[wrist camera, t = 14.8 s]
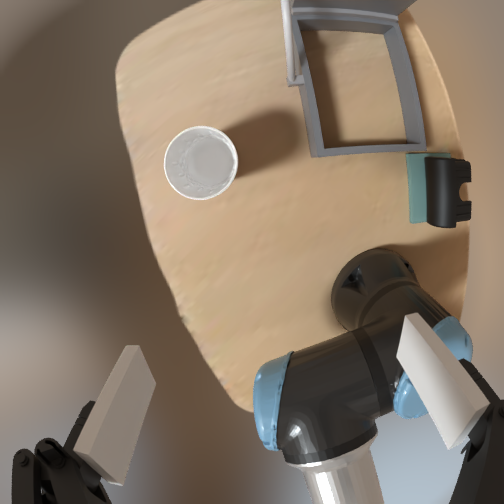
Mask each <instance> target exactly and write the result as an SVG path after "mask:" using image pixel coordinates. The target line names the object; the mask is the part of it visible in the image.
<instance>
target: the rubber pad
mask: <svg viewBox="0 0 504 504" xmlns="http://www.w3.org/2000/svg"><path fill="white" fill-rule="evenodd" d="M428 156H434V157H446V158H451V156H450V153H416V154H406V161H407V172H408V186H409V209H410V223H412V224H414V223H421V222H427V220H426V178H425V163H424V158H425V157H428Z"/></svg>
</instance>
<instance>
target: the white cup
mask: <svg viewBox="0 0 504 504" xmlns="http://www.w3.org/2000/svg"><path fill="white" fill-rule="evenodd" d="M237 169H238V155H237V151H236V148H235V146H234V144H233V142H232V141H231V140H230V138H229V137H228V136H227V135H226V134H224V133H223V132H222V131H220V130H218V129H216V128H213V127H209V126H195V127H191V128H188V129H186V130H184V131H182V132H181V133H179V134H178V135H177V136H176V137H175V138H174V139H173V140H172V141H171V143H170V144H169V146H168V148H167V150H166V153H165V158H164V170H165V174H166V177H167V180H168V181H169V183H170V185H171V186H172V187H173V188H174V189H175V190H176V191H177V192H178V193H179V194H181V195H183V196H185V197H187V198H190V199H195V200H205V199H210V198H213V197H216V196H218V195H219V194H221V193H222V192H224V191H225V190H226V189H227V188H228V187H229V186H230V184H231V183H232V182H233V180H234V178H235V175H236V173H237Z"/></svg>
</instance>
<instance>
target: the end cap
mask: <svg viewBox="0 0 504 504" xmlns="http://www.w3.org/2000/svg"><path fill="white" fill-rule="evenodd" d="M424 163H425V178H426V220H427V223H429V224H430V225H433V226H436V227H441V228H455V227H456V222H461V221H467V220H470V219H471V201H462V200H461V199H460V196H459V189H460V186H461V185H462V184H463V183H465V182H471V165H470V163H469V162H468V161H465V160H464V159H454V158H446V157H434V156H428V157H425V158H424Z"/></svg>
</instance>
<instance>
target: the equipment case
mask: <svg viewBox="0 0 504 504" xmlns="http://www.w3.org/2000/svg"><path fill="white" fill-rule="evenodd" d="M415 1H416V0H281V8H282V18H283V28H284V38H285V50H286V62H287V75H288V76H287V78H286V79H287V84H288V87H292V86H299V90H300V95H301V100H302V105H303V111H304V116H305V122H306V128H307V134H308V140H309V146H310V153H311V157H326V156H336V155H348V154H361V153H376V152H398V151H427V148H426V140H425V132H424V125H423V119H422V113H421V107H420V102H419V96H418V92H417V87H416V83H415V78H414V74H413V70H412V66H411V62H410V59H409V55H408V52H407V48H406V45H405V42H404V39H403V36H402V33H401V30H400V27H399V24H398V22H397V21H398V20H399V19H398V15H399V14H400V13H402V12H403V11H404V10H405V9H406V8H408V7H409V6H410V5H411V4H413V3H414V2H415ZM290 6H291V7H290ZM307 30H330V31H352V32H365V33H375V34H383V35H384V38H385V41H386V44H387V48H388V51H389V55H390V58H391V62H392V66H393V70H394V74H395V78H396V82H397V87H398V91H399V96H400V101H401V107H402V112H403V118H404V124H405V131H406V138H407V144H393V145H369V146H352V147H339V148H328V149H324V144H323V138H322V132H321V126H320V120H319V114H318V109H317V103H316V98H315V93H314V88H313V83H312V79H311V74H310V70H309V65H308V61H307V57H306V52H305V48H304V44H303V40H302V37H301V33H300V31H307ZM295 71H296V75H295Z"/></svg>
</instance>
